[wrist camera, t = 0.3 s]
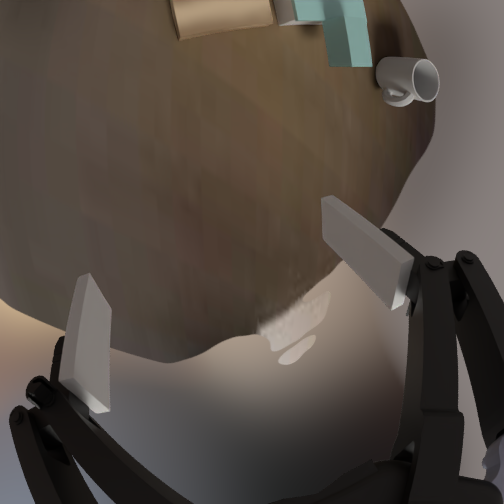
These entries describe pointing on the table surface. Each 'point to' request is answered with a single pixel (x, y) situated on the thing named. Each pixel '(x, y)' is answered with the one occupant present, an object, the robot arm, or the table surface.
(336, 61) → the lid
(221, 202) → the table surface
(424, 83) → the cup
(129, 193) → the table surface
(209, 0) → the wooden block
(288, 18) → the tub
